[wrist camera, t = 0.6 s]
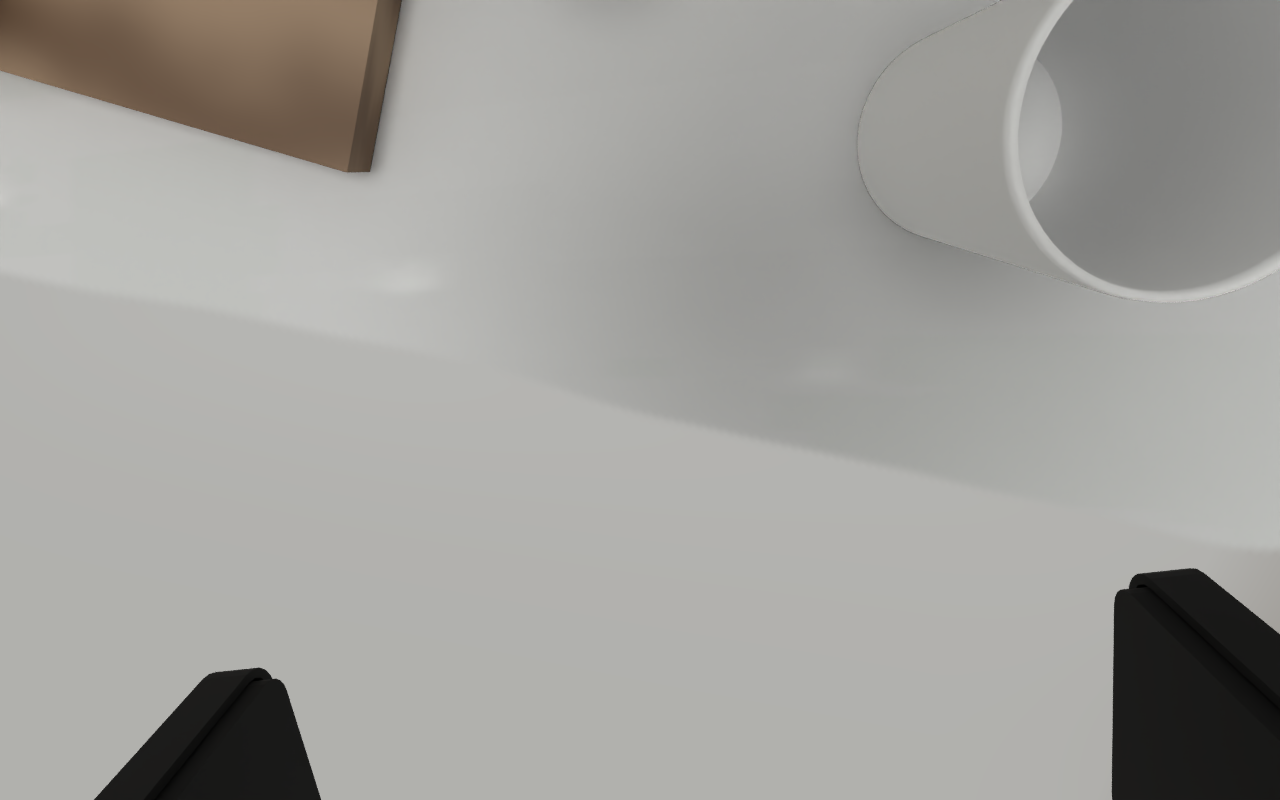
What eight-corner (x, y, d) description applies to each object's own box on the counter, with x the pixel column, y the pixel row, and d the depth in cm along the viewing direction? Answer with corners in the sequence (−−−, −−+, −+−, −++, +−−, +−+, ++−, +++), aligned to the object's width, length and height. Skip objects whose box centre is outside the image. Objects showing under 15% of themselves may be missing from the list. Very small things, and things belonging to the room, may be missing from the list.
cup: (814, 136, 34) (930, 117, 18) (977, -21, 32) (1257, -190, 16) (943, 281, 35) (1151, 375, 20) (1106, 138, 33) (1474, 120, 18)
